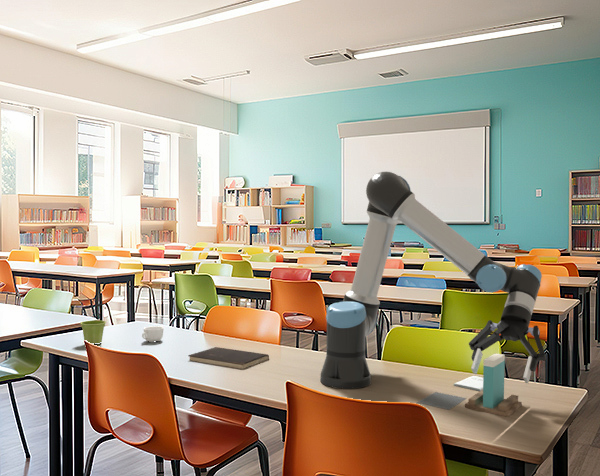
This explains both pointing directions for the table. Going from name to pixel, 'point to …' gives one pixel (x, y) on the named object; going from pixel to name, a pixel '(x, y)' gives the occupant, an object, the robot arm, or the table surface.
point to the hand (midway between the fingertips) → (498, 375)
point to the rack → (501, 409)
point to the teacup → (153, 333)
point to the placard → (493, 380)
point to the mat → (441, 400)
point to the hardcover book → (229, 357)
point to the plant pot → (93, 330)
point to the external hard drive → (471, 383)
